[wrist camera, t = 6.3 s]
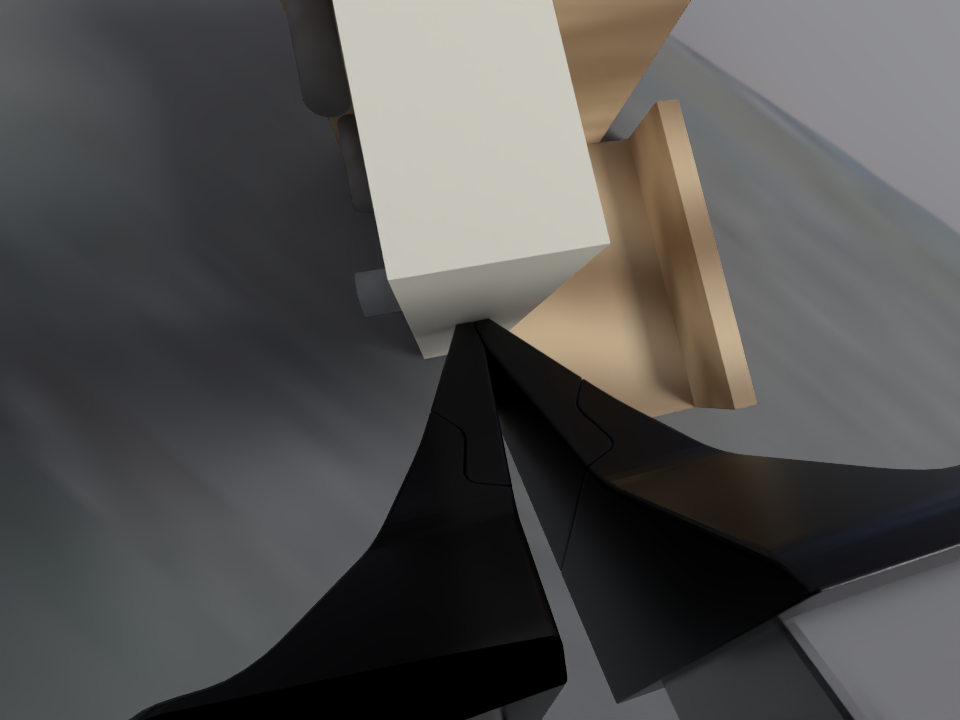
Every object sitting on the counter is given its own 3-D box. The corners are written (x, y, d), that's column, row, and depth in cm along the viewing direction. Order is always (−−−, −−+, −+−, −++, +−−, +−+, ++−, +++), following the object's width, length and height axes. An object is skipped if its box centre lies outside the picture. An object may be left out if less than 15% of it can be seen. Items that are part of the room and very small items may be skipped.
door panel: (491, 345, 16) (610, 243, 5) (396, 364, 15) (287, 297, 4) (455, 176, 16) (488, -269, 5) (362, 188, 16) (184, -279, 5)
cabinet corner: (701, 401, 17) (1322, 427, 5) (411, 471, 15) (306, 769, 3) (628, 110, 18) (1007, -449, 6) (347, 143, 16) (82, -569, 4)
